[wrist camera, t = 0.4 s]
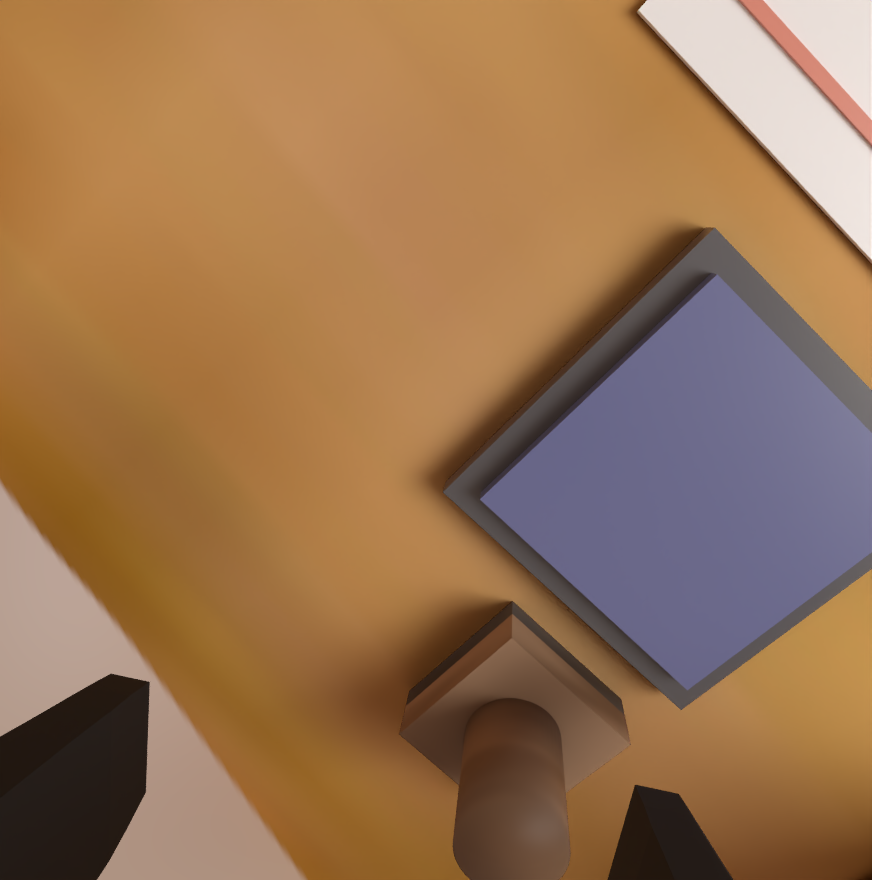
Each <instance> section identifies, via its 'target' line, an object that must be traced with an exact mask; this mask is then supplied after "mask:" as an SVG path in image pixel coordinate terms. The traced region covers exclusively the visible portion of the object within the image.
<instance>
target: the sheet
mask: <svg viewBox="0 0 872 880" xmlns="http://www.w3.org/2000/svg"><path fill="white" fill-rule="evenodd" d="M637 13H638V14H639V15H640V17H641V18H642V19H643V20H644V21H645V22H646V23H647V24H648V25H649V26H650V27H651V28H652V29H653V30H654V31H655V33H656V34H657V35H658V36H659V37H660V38H661V39H662V40H663V41H664V42H665V43H666V44H667V45H668V46H669V48H670V49H671V50H672V51H673V52H674V53H675V54H676V55H677V56H678V57H679V58H680V59H681V60H682V61H683V62H684V64H685V65H686V66H687V67H688V68H689V69H690V70H691V71H692V72H693V73H694V74H695V75H696V76H697V77H698V79H699V80H700V81H701V82H702V83H703V84H704V85H705V86H706V87H707V88H708V89H709V90H710V91H711V92H712V93H713V95H714V96H715V97H716V98H717V99H718V100H719V101H720V102H721V103H722V104H723V105H724V106H725V107H726V108H727V109H728V111H729V112H730V113H731V114H732V115H733V116H734V117H735V118H736V119H737V120H738V121H739V122H740V123H741V124H742V126H743V127H744V128H745V129H746V130H747V131H748V132H749V133H750V134H751V135H752V136H753V137H754V138H755V139H756V140H757V142H758V143H759V144H760V145H761V146H762V147H763V148H764V149H765V150H766V151H767V152H768V153H769V154H770V155H771V157H772V158H773V159H774V160H775V161H776V162H777V163H778V164H779V165H780V166H781V167H782V168H783V169H784V170H785V171H786V173H787V174H788V175H789V176H790V177H791V178H792V179H793V180H794V181H795V182H796V183H797V184H798V185H799V186H800V188H801V189H802V190H803V191H804V192H805V193H806V194H807V195H808V196H809V197H810V198H811V199H812V200H813V201H814V202H815V204H816V205H817V206H818V207H819V208H820V209H821V210H822V211H823V212H824V213H825V214H826V215H827V216H828V217H829V219H830V220H831V221H832V222H833V223H834V224H835V225H836V226H837V227H838V228H839V229H840V230H841V231H842V232H843V233H844V235H845V236H846V237H847V238H848V239H849V240H850V241H851V242H852V243H853V244H854V245H855V246H856V247H857V248H858V250H859V251H860V252H861V253H862V254H863V255H864V256H865V257H866V258H867V259H868V260H869V261H870V262H871V263H872V0H647V1H646V2H645V3H644V4H643V5H642V6H641V8H640V9H639V10H638V11H637Z"/></svg>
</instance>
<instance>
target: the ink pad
mask: <svg viewBox="0 0 872 880" xmlns="http://www.w3.org/2000/svg"><path fill="white" fill-rule="evenodd" d="M443 493H444V494H445V495H447V496H448V497H449V498H450V499H451V500H452V501H453V502H454V503H455V504H456V505H458V506H459V507H460V508H461V509H462V510H463V511H464V512H465V513H466V514H467V515H468V516H470V517H471V518H472V519H473V520H474V521H475V522H476V523H477V524H478V525H479V526H480V527H482V528H483V529H484V530H485V531H486V532H487V533H488V534H489V535H490V536H491V537H492V538H494V539H495V540H496V541H497V542H498V543H499V544H500V545H501V546H502V547H503V548H505V549H506V550H507V551H508V552H509V553H510V554H511V555H512V556H513V557H514V558H515V559H517V560H518V561H519V562H520V563H521V564H522V565H523V566H524V567H525V568H526V569H527V570H529V571H530V572H531V573H532V574H533V575H534V576H535V577H536V578H537V579H538V580H540V581H541V582H542V583H543V584H544V585H545V586H546V587H547V588H548V589H549V590H550V591H552V592H553V593H554V594H555V595H556V596H557V597H558V598H559V599H560V600H561V601H562V602H564V603H565V604H566V605H567V606H568V607H569V608H570V609H571V610H572V611H573V612H574V613H576V614H577V615H578V616H579V617H580V618H581V619H582V620H583V621H584V622H585V623H587V624H588V625H589V626H590V627H591V628H592V629H593V630H594V631H595V632H596V633H597V634H599V635H600V636H601V637H602V638H603V639H604V640H605V641H606V642H607V643H608V644H609V645H611V646H612V647H613V648H614V649H615V650H616V651H617V652H618V653H619V654H620V655H621V656H623V657H624V658H625V659H626V660H627V661H628V662H629V663H630V664H631V665H632V666H634V667H635V668H636V669H637V670H638V671H639V672H640V673H641V674H642V675H643V676H644V677H646V678H647V679H648V680H649V681H650V682H651V683H652V684H653V685H654V686H655V687H656V688H658V689H659V690H660V691H661V692H662V693H663V694H664V695H665V696H666V697H667V698H669V699H670V700H671V701H672V702H673V703H674V704H675V705H676V706H677V707H678V708H679V709H681V710H682V709H683V708H684V707H686V706H687V705H688V704H690V703H691V702H693V701H694V700H695V699H697V698H698V697H699V696H701V695H702V694H703V693H705V692H706V691H707V690H709V689H710V688H711V687H713V686H714V685H715V684H717V683H718V682H720V681H721V680H722V679H724V678H725V677H726V676H728V675H729V674H730V673H732V672H733V671H734V670H736V669H737V668H738V667H740V666H741V665H742V664H744V663H745V662H747V661H748V660H749V659H751V658H752V657H753V656H755V655H756V654H757V653H759V652H760V651H761V650H763V649H764V648H765V647H767V646H768V645H769V644H771V643H772V642H774V641H775V640H776V639H778V638H779V637H780V636H782V635H783V634H784V633H786V632H787V631H788V630H790V629H791V628H792V627H794V626H795V625H796V624H798V623H799V622H801V621H802V620H803V619H805V618H806V617H807V616H809V615H810V614H811V613H813V612H814V611H815V610H817V609H818V608H819V607H821V606H822V605H823V604H825V603H826V602H828V601H829V600H830V599H832V598H833V597H834V596H836V595H837V594H838V593H840V592H841V591H842V590H844V589H845V588H846V587H848V586H849V585H850V584H852V583H853V582H855V581H856V580H857V579H859V578H860V577H861V576H863V575H864V574H865V573H867V572H868V571H869V570H871V569H872V390H871V389H870V388H869V387H868V386H867V385H866V384H865V383H864V382H863V381H862V380H861V379H860V378H859V377H858V376H857V375H856V374H855V373H854V372H853V371H852V370H851V369H850V368H849V366H848V365H847V364H846V363H845V362H844V361H843V360H842V359H841V358H840V357H839V356H838V355H837V354H836V353H835V352H834V351H833V350H832V349H831V348H830V347H829V346H828V345H827V344H826V343H825V342H824V341H823V340H822V338H821V337H820V336H819V335H818V334H817V333H816V332H815V331H814V330H813V329H812V328H811V327H810V326H809V325H808V324H807V323H806V322H805V321H804V320H803V319H802V318H801V317H800V316H799V315H798V314H797V313H796V311H795V310H794V309H793V308H792V307H791V306H790V305H789V304H788V303H787V302H786V301H785V300H784V299H783V298H782V297H781V296H780V295H779V294H778V293H777V292H776V291H775V290H774V289H773V288H772V287H771V286H770V285H769V283H768V282H767V281H766V280H765V279H764V278H763V277H762V276H761V275H760V274H759V273H758V272H757V271H756V270H755V269H754V268H753V267H752V266H751V265H750V264H749V263H748V262H747V261H746V260H745V259H744V258H743V257H742V255H741V254H740V253H739V252H738V251H737V250H736V249H735V248H734V247H733V246H732V245H731V244H730V243H729V242H728V241H727V240H726V239H725V238H724V237H723V236H722V235H721V234H720V233H719V232H718V231H717V230H716V229H715V228H707V227H706V228H705V229H704V230H703V231H702V232H701V233H700V234H699V235H698V236H697V237H696V238H695V239H694V240H693V241H692V242H691V243H690V244H689V245H687V246H686V247H685V248H684V249H683V250H682V251H681V252H680V253H679V254H678V255H677V256H676V257H675V258H674V259H673V260H672V261H671V262H670V263H669V264H668V265H667V266H666V267H665V268H664V269H663V270H662V271H661V272H660V273H659V274H658V275H657V276H656V277H655V278H654V279H653V280H652V281H651V282H650V283H649V284H648V285H647V286H646V287H645V288H643V289H642V290H641V291H640V292H639V293H638V294H637V295H636V296H635V297H634V298H633V299H632V300H631V301H630V302H629V303H628V304H627V305H626V306H625V307H624V308H623V309H622V310H621V311H620V312H619V313H618V314H617V315H616V316H615V317H614V318H613V319H612V320H611V321H610V322H609V323H608V324H607V325H606V326H605V327H604V328H603V329H602V330H601V331H599V332H598V333H597V334H596V335H595V336H594V337H593V338H592V339H591V340H590V341H589V342H588V343H587V344H586V345H585V346H584V347H583V348H582V349H581V350H580V351H579V352H578V353H577V354H576V355H575V356H574V357H573V358H572V359H571V360H570V361H569V362H568V363H567V364H566V365H565V366H564V367H563V368H562V369H561V370H560V371H559V372H558V373H557V374H556V375H554V376H553V377H552V378H551V379H550V380H549V381H548V382H547V383H546V384H545V385H544V386H543V387H542V388H541V389H540V390H539V391H538V392H537V393H536V394H535V395H534V396H533V397H532V398H531V399H530V400H529V401H528V402H527V403H526V404H525V405H524V406H523V407H522V408H521V409H520V410H519V411H518V412H517V413H516V414H515V415H514V416H513V417H512V418H510V419H509V420H508V421H507V422H506V423H505V424H504V425H503V426H502V427H501V428H500V429H499V430H498V431H497V432H496V433H495V434H494V435H493V436H492V437H491V438H490V439H489V440H488V441H487V442H486V443H485V444H484V445H483V446H482V447H481V448H480V449H479V450H478V451H477V452H476V453H475V454H474V455H473V456H472V457H471V458H470V459H469V460H468V461H466V462H465V463H464V464H463V465H462V466H461V467H460V468H459V469H458V470H457V471H456V472H455V473H454V474H453V475H452V476H451V477H450V478H449V479H448V480H447V481H446V483H445V487H444V490H443Z"/></svg>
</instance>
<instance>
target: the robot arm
mask: <svg viewBox="0 0 872 880" xmlns="http://www.w3.org/2000/svg"><path fill="white" fill-rule="evenodd" d="M148 712H149V682H147V681H142V680H138V679H133V678H128V677H123V676H119V675H114V674H110V675H108V676H106V677H104V678H102V679H100V680H98V681H97V682H95V683H93V684H91V685H90V686H88V687H86V688H84V689H82V690H81V691H79V692H77V693H75V694H74V695H72V696H70V697H69V698H67V699H65V700H63V701H62V702H60V703H58V704H56V705H55V706H53V707H51V708H50V709H48V710H46V711H44V712H43V713H41V714H39V715H38V716H36V717H34V718H32V719H31V720H29V721H27V722H25V723H24V724H22V725H20V726H18V727H16V728H15V729H13V730H11V731H9V732H8V733H6V734H4V735H3V736H1V737H0V880H97V879H98V877H99V876H100V874H101V873H102V871H103V870H104V868H105V866H106V865H107V863H108V862H109V860H110V859H111V857H112V855H113V853H114V851H115V849H116V848H117V846H118V844H119V842H120V840H121V838H122V837H123V835H124V833H125V831H126V829H127V827H128V825H129V824H130V822H131V820H132V818H133V816H134V814H135V812H136V810H137V808H138V806H139V804H140V802H141V800H142V798H143V797H144V795H145V793H146V770H147V740H148ZM608 880H733V878H732V877H731V875H730V874H729V872H728V871H727V869H726V867H725V866H724V864H723V863H722V861H721V860H720V858H719V857H718V855H717V853H716V852H715V850H714V849H713V847H712V845H711V844H710V842H709V841H708V839H707V838H706V836H705V834H704V833H703V831H702V830H701V828H700V826H699V825H698V823H697V822H696V820H695V818H694V817H693V815H692V814H691V812H690V811H689V809H688V807H687V806H686V804H685V803H684V801H683V800H682V798H681V797H680V795H679V794H677V793H672V792H667V791H662V790H658V789H653V788H648V787H644V786H639V785H635V787H634V791H633V794H632V797H631V801H630V804H629V808H628V811H627V815H626V818H625V822H624V825H623V828H622V832H621V835H620V839H619V842H618V846H617V849H616V853H615V856H614V860H613V863H612V866H611V870H610V873H609V877H608Z"/></svg>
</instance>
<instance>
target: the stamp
mask: <svg viewBox="0 0 872 880" xmlns="http://www.w3.org/2000/svg"><path fill="white" fill-rule="evenodd" d="M399 735H401V736H402V737H403V738H404V739H405V740H406V741H408V742H409V743H410V744H411V745H412V746H414V747H415V748H416V749H417V750H418V751H419V752H421V753H422V754H423V755H424V756H425V757H426V758H428V759H429V760H430V761H431V762H432V763H434V764H435V765H436V766H437V767H438V768H439V769H441V770H442V771H443V772H444V773H445V774H446V775H448V776H449V777H450V778H451V779H452V780H453V781H455V782H456V783H457V784H458V785H459V791H458V800H457V809H456V819H455V828H454V837H453V852H454V856H455V859H456V861H457V863H458V865H459V867H460V868H461V870H462V871H463V872H464V874H465V875H466V876H467V877H468V878H469V879H470V880H559V879H560V878H561V877H562V876H563V875H564V873H565V872H566V870H567V867H568V865H569V861H570V841H569V828H568V816H567V803H566V792H568V791H569V790H570V789H572V788H573V787H574V786H576V785H577V784H578V783H580V782H581V781H583V780H584V779H585V778H587V777H588V776H589V775H591V774H592V773H593V772H595V771H596V770H597V769H599V768H600V767H601V766H603V765H604V764H605V763H607V762H608V761H609V760H611V759H612V758H613V757H615V756H616V755H618V754H619V753H620V752H622V751H623V750H624V749H626V748H627V747H628V746H630V745H631V743H630V738H629V734H628V729H627V724H626V719H625V715H624V710H623V705H622V701H621V699H620V698H619V697H618V696H617V695H616V694H615V693H614V692H613V691H611V690H610V689H609V688H608V687H607V686H606V685H605V684H604V683H603V682H602V681H600V680H599V679H598V678H597V677H596V676H595V675H594V674H593V673H592V672H590V671H589V670H588V669H587V668H586V667H585V666H584V665H583V664H582V663H580V662H579V661H578V660H577V659H576V658H575V657H574V656H573V655H572V654H571V653H569V652H568V651H567V650H566V649H565V648H564V647H563V646H562V645H561V644H559V643H558V642H557V641H556V640H555V639H554V638H553V637H552V636H551V635H550V634H548V633H547V632H546V631H545V630H544V629H543V628H542V627H541V626H540V625H538V624H537V623H536V622H535V621H534V620H533V619H532V618H531V617H530V616H529V615H527V614H526V613H525V612H524V611H523V610H522V609H521V608H520V607H519V606H517V605H516V604H515V603H514V602H513V601H512V602H511V603H510V604H509V605H508V606H506V607H505V608H504V609H503V610H502V611H501V612H500V613H498V614H497V615H496V616H495V617H494V618H493V619H492V620H490V621H489V622H488V623H487V624H486V625H485V626H483V627H482V628H481V629H480V630H479V631H478V632H477V633H475V634H474V635H473V636H472V637H471V638H470V639H469V640H467V641H466V642H465V643H464V644H463V645H462V646H461V647H459V648H458V649H457V650H456V651H455V652H454V653H453V654H451V655H450V656H449V657H448V658H447V659H446V660H445V661H443V662H442V663H441V664H440V665H439V666H438V667H437V668H435V669H434V670H433V671H432V672H431V673H430V674H429V675H427V676H426V677H425V678H424V679H423V680H422V681H420V682H419V683H418V684H417V685H416V686H415V687H414V688H412V689H411V690H410V691H409V695H408V699H407V703H406V707H405V712H404V716H403V720H402V724H401V728H400V733H399Z"/></svg>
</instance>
